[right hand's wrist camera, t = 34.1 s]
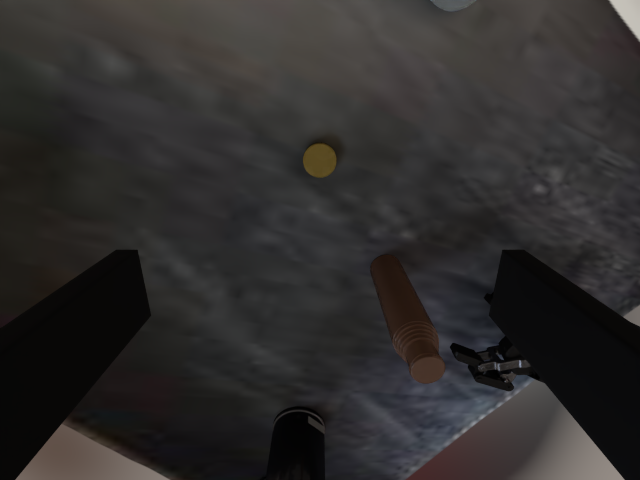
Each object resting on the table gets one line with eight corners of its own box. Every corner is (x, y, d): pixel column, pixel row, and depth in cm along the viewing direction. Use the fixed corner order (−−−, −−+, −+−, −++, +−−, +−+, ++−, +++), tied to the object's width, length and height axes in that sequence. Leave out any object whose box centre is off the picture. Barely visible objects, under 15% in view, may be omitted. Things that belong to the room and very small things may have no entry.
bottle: (394, 285, 52) (441, 395, 32) (365, 278, 51) (395, 384, 31) (405, 259, 50) (462, 356, 30) (376, 251, 50) (413, 344, 30)
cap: (342, 153, 45) (343, 154, 43) (325, 181, 46) (325, 184, 45) (313, 135, 44) (313, 136, 42) (297, 165, 45) (296, 167, 44)
